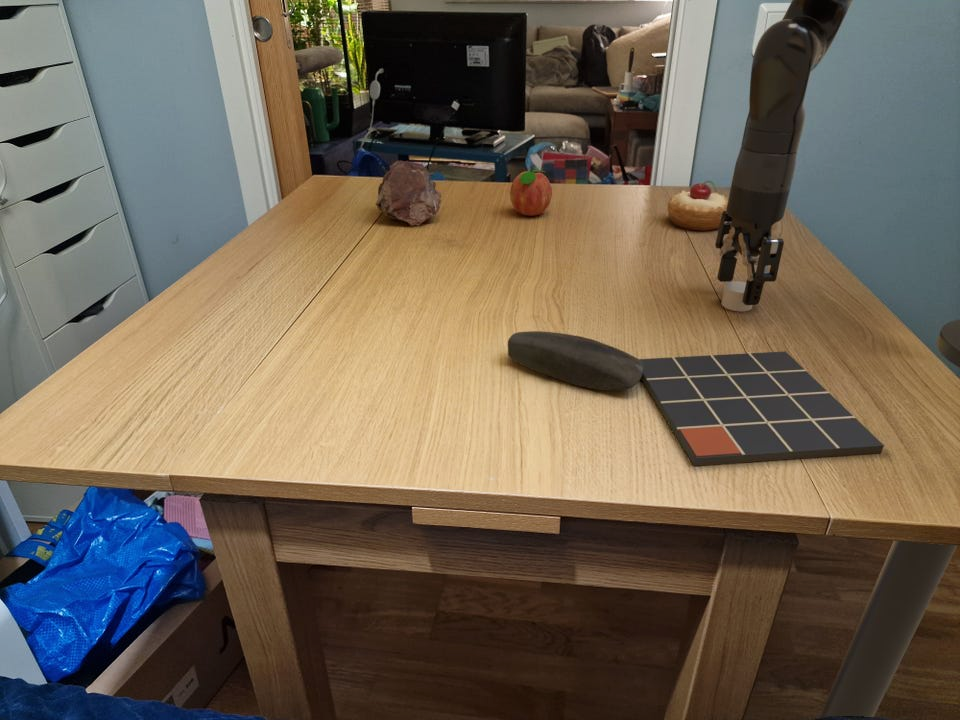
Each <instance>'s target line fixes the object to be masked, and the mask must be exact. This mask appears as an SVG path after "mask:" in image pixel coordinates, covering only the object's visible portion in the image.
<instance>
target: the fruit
mask: <svg viewBox="0 0 960 720" xmlns="http://www.w3.org/2000/svg"><path fill="white" fill-rule="evenodd" d="M545 174H546V175H547V174H548V172H547V171H544V170H539V169H534V165H533V164H531V165H530V170H526V171H522V172H520V173H519V174H518V175H517V176H516V177H515V178H514V179H513V182H512V184H511V185H510V186H511V187H510V190H509V197H510V198H509V199H510V202H511V204H512V206H513V209H515V210H516V212H518V214H520V215H523V216H531V217H532V216H539V215H541V214H543V213H544V212H545V211H546V210H547V209H548V207H549V206H550V204H551V201H552V197H553V189H552V185H551V182H550V180H549V179H548V177H547V176H546V175H545Z"/></svg>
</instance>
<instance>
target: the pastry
mask: <svg viewBox="0 0 960 720" xmlns="http://www.w3.org/2000/svg"><path fill="white" fill-rule="evenodd" d="M706 183H710V184H712V188H713V190H714V192H712V188H711V187H710V186H709V185H708V184H706ZM728 199H729V196H725V195H724V194H722V193H721V194H719V193H718V192H717V189H716V184H715V182H714V181H713V180H706V181H704V182H703V183H701V182H699V183H695V184H692V186H690V189H689V190H688V191H686V190H684V189H683V190H681V192H676V193H674V194H672V195H671V196H670V197H669V198H668V202H667V213H668V216H669V218H670V220H671V222H672V223H673V224H674V225H675V226H677V227H679V228H683V229H686V230H692V231H702V232H703V231H712V230H717V229H719V226H720V221H721V217H722V213H723V211H726V209H727V204H728Z"/></svg>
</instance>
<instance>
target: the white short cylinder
mask: <svg viewBox="0 0 960 720" xmlns="http://www.w3.org/2000/svg"><path fill="white" fill-rule="evenodd" d="M746 282H747V281H746ZM746 282H745V281H739V280H736V281H735V280H732V281H730V282H725V284H724V287H723V293H722V296H721V297H722V298H721V302H720V304H721V306H722V307H723V308H725V309H726V310H729V311H734V312H748V311H751V310H752V309H753V307H754V305H745V304H744V303H743V302H742V300H743V295H744V291H745V287H746Z"/></svg>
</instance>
